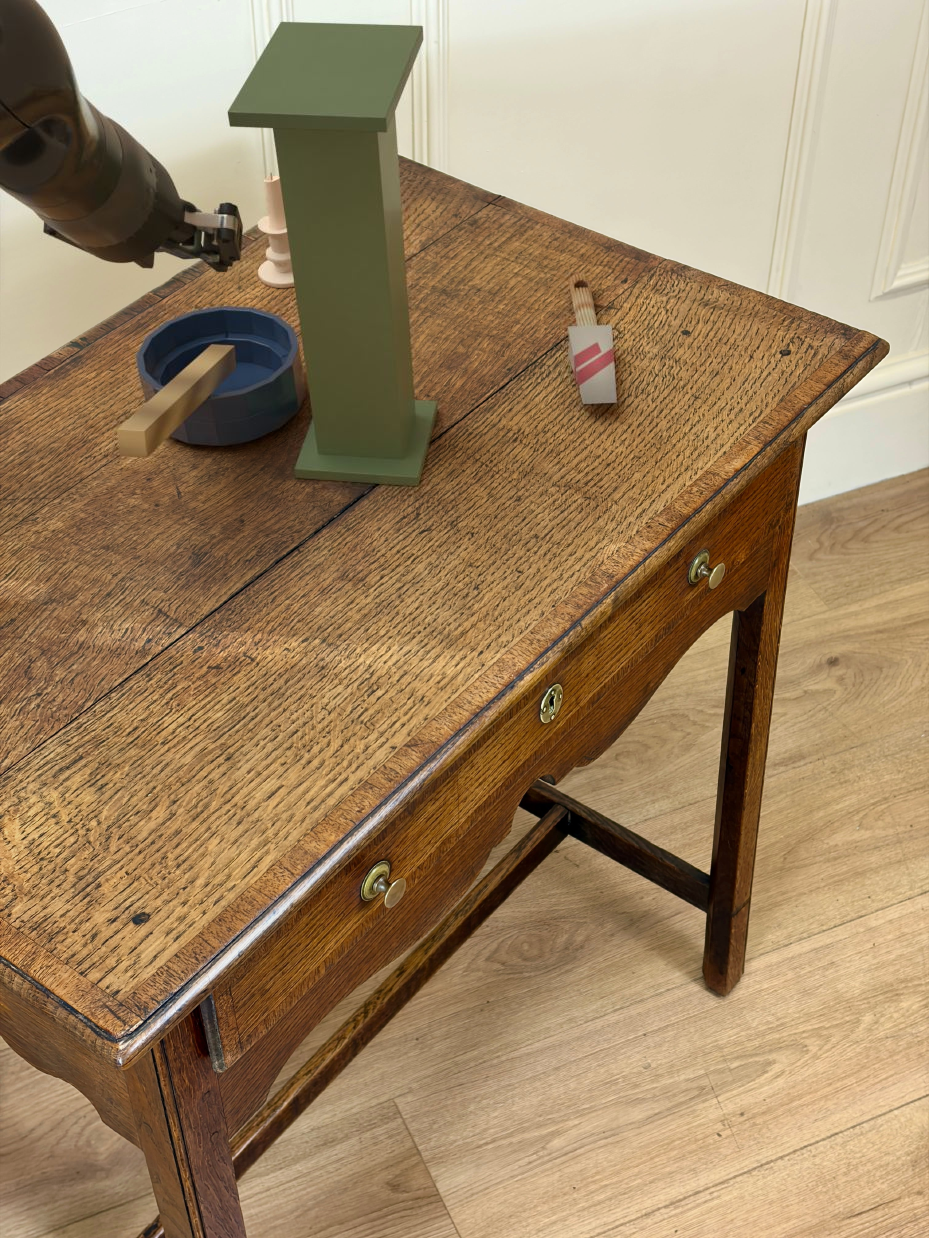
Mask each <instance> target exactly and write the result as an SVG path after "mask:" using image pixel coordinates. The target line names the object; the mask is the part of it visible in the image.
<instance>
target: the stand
mask: <svg viewBox="0 0 929 1238" xmlns="http://www.w3.org/2000/svg"><path fill="white" fill-rule="evenodd" d="M423 42H424V26H423V25H415V24H413V25H412V24H411V25H410V24H408V25H406V24H380V23H379V24H377V23H376V24H375V23H374V24H373V23H341V22H338V23H336V22H307V21H306V22H305V21H304V22H303V21H299V22H298V21H280V22H279V24H278V26H277V28H276V29H275V31H274V33H273V34H272V35H271V38H270V39H269V41H268V42H267V44H266V46H265V48H264V50H263V51H262V53H261V54H260V56H259V58H257V59H258V60H257V61H256V63H255V64H254V66H253V68H252V70H251V72H250V73H249V75H248V77H247V78H246V80H245V81H244V83H243V84H242V87H241V88H240V89H239V91H238V93H237V95H236V96H235V98H234V100H233V102H232V103H231V105H230V106H229V108H228V109H227V119H228V123H229V127H231V128H252V129H253V128H255V129H257V128H258V129H272V133H273V140H274V146H275V154H276V161H277V162H276V163H277V169H278V176H279V177H280V185H281V192H282V199H283V206H284V214H285V221H286V228H287V235H288V242H289V250H290V257H291V264H292V271H293V278H294V292H295V293H294V294H295V301H296V306H297V314H298V321H299V328H300V335H301V342H302V350H303V356H304V363H305V372H306V378H307V386H308V392H309V399H310V409H311V415H312V418H311V421H310V424H309V427H308V429H307V432H306V435H305V437H304V440H303V443H302V446H301V449H300V450H299V451H300V452H299V454H298V457H297V460H296V463H295V465H294V467H293V470H294V477H295V479H306V480H317V481H318V480H319V481H332V482H345V483H346V482H347V483H348V482H349V483H361V484H374V485H375V484H376V485H389V486H402V487H403V486H405V487H419V485H420V482H421V478H422V475H423V470H424V466H425V462H426V458H427V455H428V450H429V446H430V442H431V439H432V435H433V431H434V428H435V427H434V426H435V423H436V420H437V419H436V418H437V415H438V410H439V409H438V408H439V407H438V401H436V400H421V399H416V398H415V384H414V383H415V382H414V371H413V369H414V367H413V354H412V353H413V352H412V339H411V324H410V311H409V309H410V308H409V295H408V282H407V281H408V280H407V268H406V252H405V237H404V221H403V207H402V195H401V194H402V193H401V180H400V178H401V177H400V176H401V175H400V163H399V148H398V133H397V120H396V110H397V108H398V106H399V102H400V100H401V98H402V95H403V93H404V90H405V87H406V85H407V83H408V80H409V77H410V74H411V73H412V70H413V67H414V65H415V62H416V60H417V57H418V55H419V52H420V50H421V47H422V45H423Z"/></svg>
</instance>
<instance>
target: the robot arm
mask: <svg viewBox="0 0 929 1238" xmlns="http://www.w3.org/2000/svg"><path fill="white" fill-rule="evenodd" d="M176 187H177V186H176V185H175V182H174V181H173V178H172V177H171V174H170V173H169V172H168V170H167V168H166V167H165V166H164V165H163V164H162V163H161V162H160V161H159V160H158V159H157V158H156V157H155V156H154V155H152V153H150V151H148V150H147V148H145V147H144V145H143V144H141V142H139V141H138V140H137V139H136V138H135V137H134V136H133V135H132V134H131V133H130V132H129V131H127V130H126V128H124V127H123V126H122V125H121V124H119V123H118V122H117V121H116V120H114V119H113V118H111V117H109V116H107V115H105V114H104V113H103V112H101V111H100V110H99V108H97V107H96V106H95V105H94V104H93V103H92V102H91V101H90V100H89V99H88V98H86V97H85V96H84V95H83V93H82V91H81V90H80V87H79V83H78V80H77V76H76V73H75V69H74V65H73V64H72V61H71V57H70V55H69V52H68V51H67V49H66V46H65V44H64V41H63V39H62V37H61V35H60V33H59V31H58V30H57V27H56V26H55V24H54V22H53V21H52V18H51V17H50V16H49V15H48V13H47V12H46V11H45V9H44V8H43V6H42V5H41V4H40V3H39V2H38V1H37V0H0V190H2V191H4V192H5V193H6V194H8V195H9V196H10V197H13V198H14V199H15V200H17V201H18V202H19V203H22V205H24V206H26V207H27V208H28V209H30V210H31V211H32V212H34V213H35V215H36V216H37V217H38V218H39V219H40V220H41V221H43V233H44V234H45V235H48V236H49V237H52V238H54V239H56V240H59V241H61V242H63V243H65V244H68V245H70V246H72V247H75V248H76V249H79V250H81V251H83V252H85V253H88V254H90V255H92V256H94V257H95V258H98V259H100V260H102V261H105V262H109V263H113V264H129V263H134V264H136V265H137V266H138V267H140V268H142V269H151V270H152V269H153V268H154V265H155V264H154V263H155V255H156V254H157V253H166V254H168V255H170V256H174V257H176V258H178V259H181V260H197V259H199V260H202V261H203V263H205V264H207V265H208V267H210V268H211V269H213V270H214V271H215V272H217V273H227V272H228V271H229V267H230V268H232V267H233V266H234V263H235V262H239V261H241V260H242V259H241V258H242V244H243V234H244V233H243V232H244V231H243V230H244V225H243V221H242V218H241V214H240V211H239V207H238V206H237V205H236V204H234V203H232V202H227V201H226V202H222V203H219V205H218V207H214V209H213V213H211V212H203V211H202V210H201V209H199V208H197V206H196V205H195V204H194V203H192V202H190V201H188V200H185V199H183V198H181V197H180V194H179V192H178V190H177V188H176ZM202 239H203V241H202Z"/></svg>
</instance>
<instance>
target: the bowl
mask: <svg viewBox="0 0 929 1238" xmlns="http://www.w3.org/2000/svg"><path fill="white" fill-rule="evenodd" d="M212 344H214V345H231V346H235V360H236V369H235V370H234V371H233V372H232V373H231V374H230V375H229V376H228V377H227V378H226V379H225V380H224V381H223V382H222V383H221V384H220V385H219V386H218V387H217V388H216V389H215V390H214V391H213V392H212V393H211V394H210V395H209V396H208V397H207V398H206V399H205V400H204V401H203V402H202V403H201V404H200V405H199V406H198V407H197V408H196V409H195V410H194V411H193V412H192V413H191V414H190V415H189V416H188V417H187V418H186V419H185V420H184V421H183V422H182V423H181V424H180V425H179V426H178V427H177V428H176V429H175V430H174V431H173V432H172V433H171V434H170V435H169V436H168V437H171V438H172V439H176V440H178V441H181V442H184V443H186V444H189V445H201V446H208V447H209V446H210V447H222V446H223V447H224V446H234V445H241V444H244V443H247V442H248V443H249V442H252V441H255V440H257V439H260V438H262V437H264V436H266V435H268V434H269V433H273V432H274V431H277V430H279V429H280V428H282V427H283V426H284V425H285V424H286V423H288V421H290V420H291V419H292V418H293V417H294V416H295V415H296V414H297V413H298V412H299V411H300V408H301V406H302V403H303V400H304V397H305V395H306V393H307V391H306V385H305V384H306V383H305V379H304V378H305V376H304V371H303V363H302V355H301V348H300V344H299V340H298V337H297V334H296V330H295V329H294V327H293V326H291V325H290V324H289V323H287V322H286V321H285V320H284V319H283V318H282V317H280V316H279V315H278V314H276V313H275V314H274V313H271V312H268V311H266V310H265V311H264V310H262V309H259V308H256V307H247V306H231V305H221V306H215V307H208V308H202V309H196V310H192V311H190V312H187V313H184V314H182V315H179V316H176V317H175V318H171V319H169V320H167V321H165V322H163V323H162V324H161V325H160V326H158V327H157V328H156V329H154V330H153V331H152V332H150V333H149V334H148V335H146V336H145V338H144V340H143V342H142V344H141V345H140V347H139V349H138V350H137V353H136V355H135V359H136V364H137V365H136V366H137V373H138V377H139V380H140V381H139V382H140V385H141V388H142V393H143V397H144V400H145V404H146V403H147V402H148V401H149V400H150V399H151V398H152V397H153V396H155V395H156V394H157V393H158V392H159V391H160V390H161V389H162V388H164V387H165V386H166V385H167V384H168V383H169V382H170V381H171V380H172V379H174V378H175V377H176V376H177V375H178V374H179V373H180V372H181V371H183V370H184V369H185V368H186V367H187V366H188V365H189V364H190V363H191V362H193V361H194V360H195V359H196V358H197V357H198V356H199V355H200V354H201V353H203V352H204V351H205V350H206V349H207V348H208V347H209V346H210V345H212Z"/></svg>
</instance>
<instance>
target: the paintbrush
mask: <svg viewBox="0 0 929 1238" xmlns="http://www.w3.org/2000/svg"><path fill="white" fill-rule="evenodd" d="M590 281H591V280H590V278H589V277H588V275H586V274H585V273H581V272H579V273H575V274H573V275H572V277H570V280H569V281H568V282H569V290H570V295H571V301H572V307H573V312H574V317H575V322H576V326H575V325H574V326H567V332H568V350H567V351H568V352H567V355H568V358H569V363H570V365H571V369H572V371H573V375H574V379H575V382H576V385H577V388H578V392H579V395H580V399H581V402H582V404H583V405H589V404H591V405H593V404H615V403H618V401H617V385H616V368H615V355H614V353H615V352H614V339H613V328H612V327H613V325H612V324H601V325H598V319H597V315H596V309H595V305H594V297H593V294H592V287H591V282H590Z"/></svg>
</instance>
